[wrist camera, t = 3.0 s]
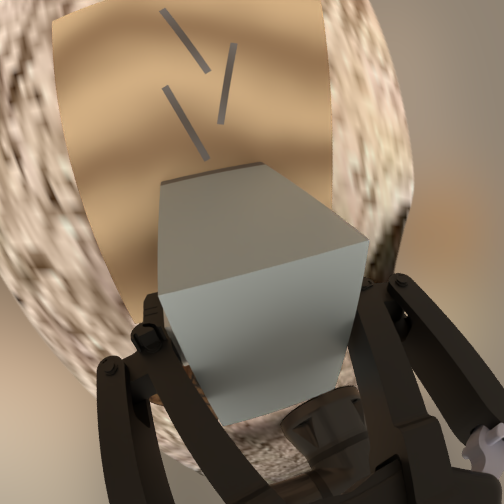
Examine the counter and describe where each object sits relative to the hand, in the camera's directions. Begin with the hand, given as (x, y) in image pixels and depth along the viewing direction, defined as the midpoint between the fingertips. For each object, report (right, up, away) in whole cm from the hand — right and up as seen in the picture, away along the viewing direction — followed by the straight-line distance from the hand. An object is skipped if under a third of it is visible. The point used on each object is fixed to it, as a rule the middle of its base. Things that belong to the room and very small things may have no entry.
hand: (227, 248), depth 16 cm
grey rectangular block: (0, +1, +1) cm, 1 cm away
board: (-1, +6, -1) cm, 6 cm away
